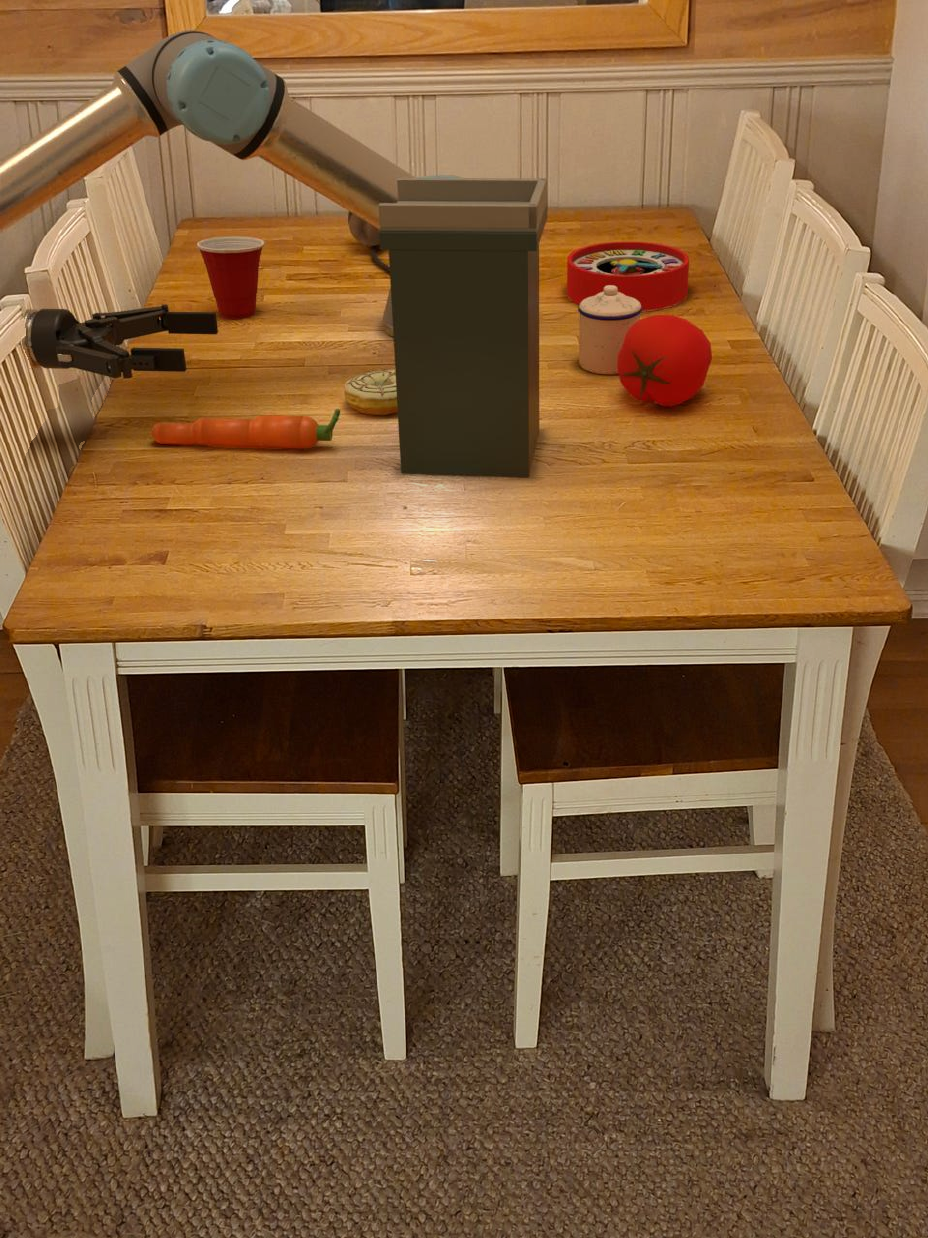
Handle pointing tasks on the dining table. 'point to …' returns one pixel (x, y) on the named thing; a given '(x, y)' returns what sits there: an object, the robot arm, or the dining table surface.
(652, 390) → the tomato
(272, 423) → the carrot
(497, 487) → the dining table surface
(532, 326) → the stand
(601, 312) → the teacup with lid
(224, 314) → the plastic cup
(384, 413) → the decorated donut
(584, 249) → the toy clock
